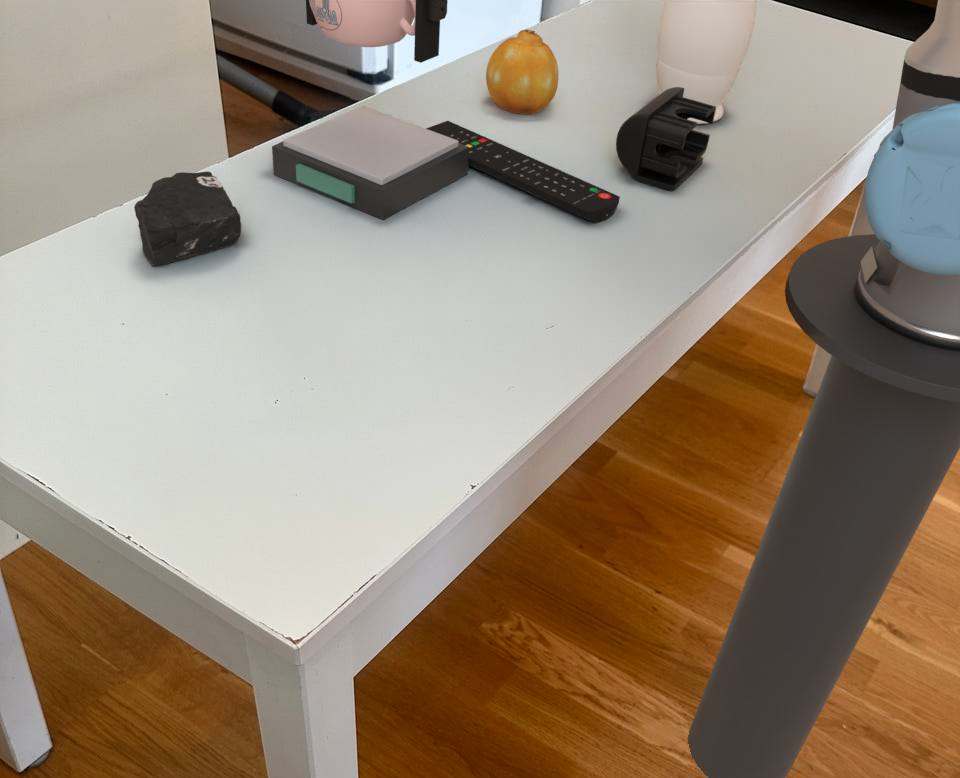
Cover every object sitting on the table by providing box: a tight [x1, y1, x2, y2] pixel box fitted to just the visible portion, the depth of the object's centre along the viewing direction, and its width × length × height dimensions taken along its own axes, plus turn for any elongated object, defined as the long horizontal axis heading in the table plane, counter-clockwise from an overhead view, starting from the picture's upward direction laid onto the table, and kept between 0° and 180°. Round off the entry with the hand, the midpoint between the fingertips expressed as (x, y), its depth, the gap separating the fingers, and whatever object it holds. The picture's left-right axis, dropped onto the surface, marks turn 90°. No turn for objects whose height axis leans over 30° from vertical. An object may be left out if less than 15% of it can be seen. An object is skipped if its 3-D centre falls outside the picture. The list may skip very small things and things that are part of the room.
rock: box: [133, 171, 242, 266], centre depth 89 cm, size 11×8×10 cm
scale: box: [271, 105, 469, 221], centre depth 102 cm, size 14×14×3 cm
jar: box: [656, 0, 758, 125], centre depth 116 cm, size 11×10×15 cm
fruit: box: [485, 29, 559, 115], centre depth 116 cm, size 8×8×8 cm
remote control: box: [425, 120, 621, 223], centre depth 105 cm, size 5×24×1 cm, turn 49°
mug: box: [309, 0, 416, 48], centre depth 92 cm, size 12×10×6 cm
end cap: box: [615, 87, 716, 192], centre depth 107 cm, size 10×7×7 cm
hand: (371, 39), depth 94 cm, fingers closed on mug, 12 cm apart
